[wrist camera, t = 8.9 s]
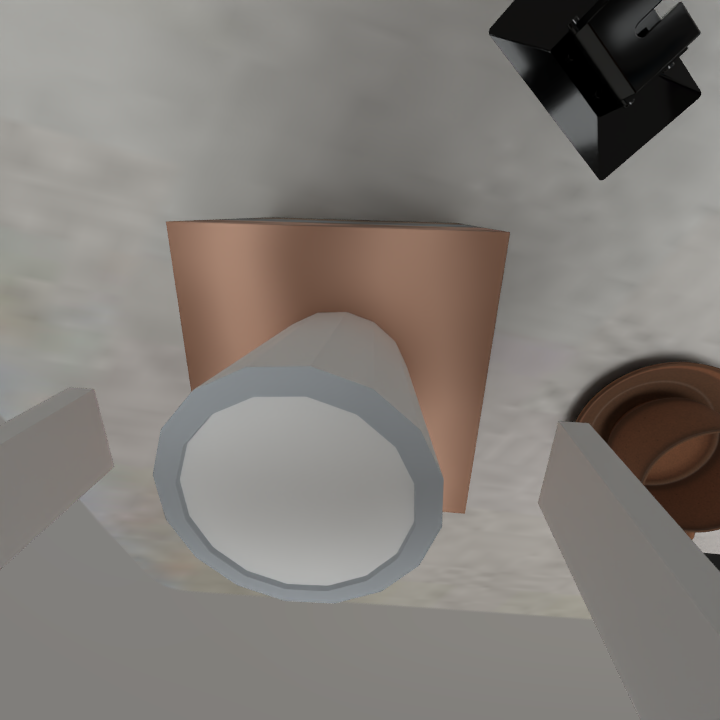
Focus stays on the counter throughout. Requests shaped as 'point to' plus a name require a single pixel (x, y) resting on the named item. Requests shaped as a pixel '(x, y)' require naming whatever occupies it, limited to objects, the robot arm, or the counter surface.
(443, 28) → the counter surface
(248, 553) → the grey round tub
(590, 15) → the black boxy piece
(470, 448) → the brown grey striped block
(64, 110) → the counter surface
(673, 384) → the cup and saucer
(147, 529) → the counter surface
